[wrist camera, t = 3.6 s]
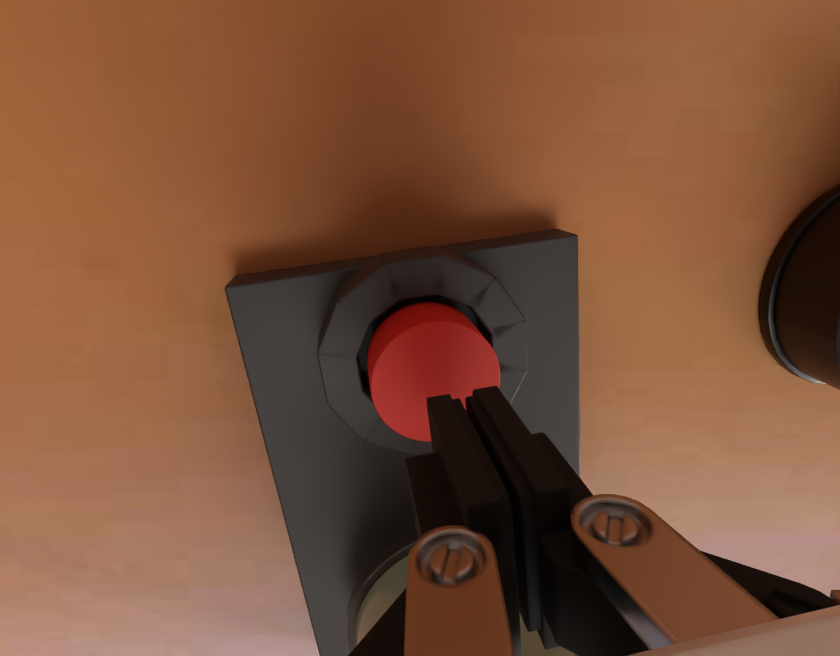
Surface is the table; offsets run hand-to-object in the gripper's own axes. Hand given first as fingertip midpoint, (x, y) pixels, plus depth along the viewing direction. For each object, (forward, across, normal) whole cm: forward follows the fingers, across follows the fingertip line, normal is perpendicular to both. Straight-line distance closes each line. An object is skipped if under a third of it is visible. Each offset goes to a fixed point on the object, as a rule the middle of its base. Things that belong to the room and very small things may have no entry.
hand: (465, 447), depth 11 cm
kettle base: (+8, 0, +6) cm, 10 cm away
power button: (+5, 0, 0) cm, 5 cm away
